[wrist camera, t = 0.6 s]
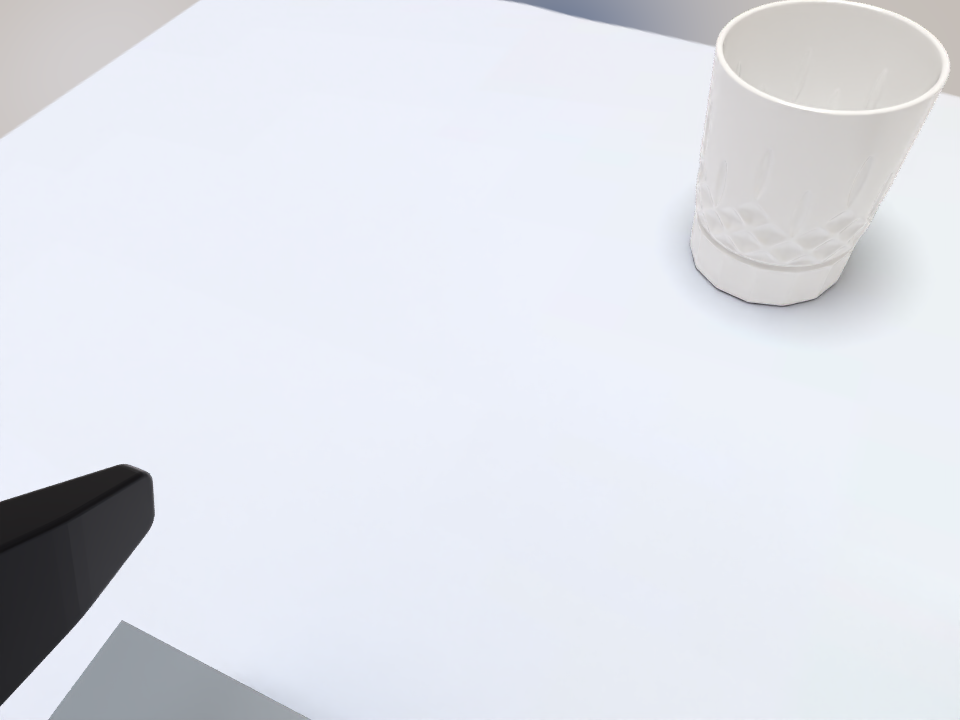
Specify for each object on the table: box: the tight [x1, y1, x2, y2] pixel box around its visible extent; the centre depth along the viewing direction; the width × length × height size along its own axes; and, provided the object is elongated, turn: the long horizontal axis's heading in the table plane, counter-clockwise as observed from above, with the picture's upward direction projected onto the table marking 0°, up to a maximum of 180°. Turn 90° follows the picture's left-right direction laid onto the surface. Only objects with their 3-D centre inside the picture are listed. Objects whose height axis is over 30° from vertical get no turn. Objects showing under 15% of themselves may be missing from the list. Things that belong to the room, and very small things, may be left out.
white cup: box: [690, 0, 950, 306], centre depth 30 cm, size 8×8×10 cm
